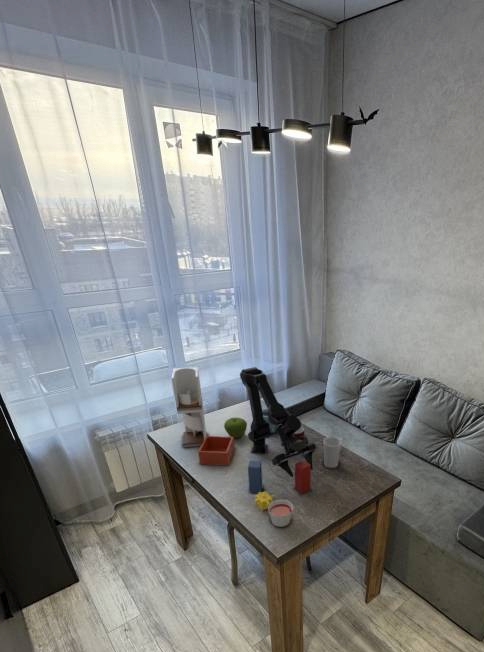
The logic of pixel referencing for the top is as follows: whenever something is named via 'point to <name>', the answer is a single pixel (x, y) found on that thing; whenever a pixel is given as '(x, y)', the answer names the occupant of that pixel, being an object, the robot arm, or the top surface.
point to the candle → (280, 512)
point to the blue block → (255, 476)
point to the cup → (331, 451)
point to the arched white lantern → (189, 404)
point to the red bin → (216, 450)
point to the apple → (235, 427)
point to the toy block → (263, 500)
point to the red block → (302, 476)
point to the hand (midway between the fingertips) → (302, 473)
